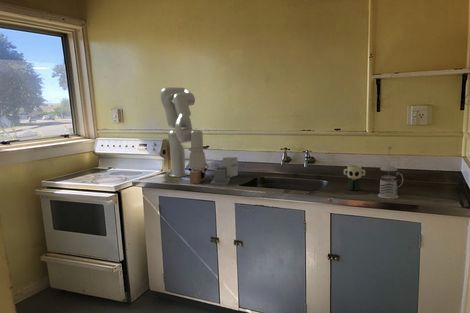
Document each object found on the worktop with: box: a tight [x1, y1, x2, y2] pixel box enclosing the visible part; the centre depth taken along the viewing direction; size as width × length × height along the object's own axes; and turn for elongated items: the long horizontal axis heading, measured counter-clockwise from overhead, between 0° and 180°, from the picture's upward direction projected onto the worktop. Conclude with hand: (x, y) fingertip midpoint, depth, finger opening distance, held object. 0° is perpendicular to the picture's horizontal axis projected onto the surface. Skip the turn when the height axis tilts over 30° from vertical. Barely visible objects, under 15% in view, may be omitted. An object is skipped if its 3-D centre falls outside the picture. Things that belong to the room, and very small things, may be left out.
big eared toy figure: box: [343, 164, 366, 191], centre depth 203 cm, size 11×7×13 cm, turn 69°
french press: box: [377, 145, 404, 199], centre depth 186 cm, size 10×12×25 cm
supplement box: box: [222, 156, 239, 178], centre depth 253 cm, size 7×7×13 cm
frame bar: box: [189, 167, 207, 185], centre depth 239 cm, size 5×18×7 cm, turn 169°
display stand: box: [210, 165, 232, 186], centre depth 235 cm, size 10×22×8 cm, turn 176°
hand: (198, 178), depth 240 cm, fingers closed on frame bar, 5 cm apart
